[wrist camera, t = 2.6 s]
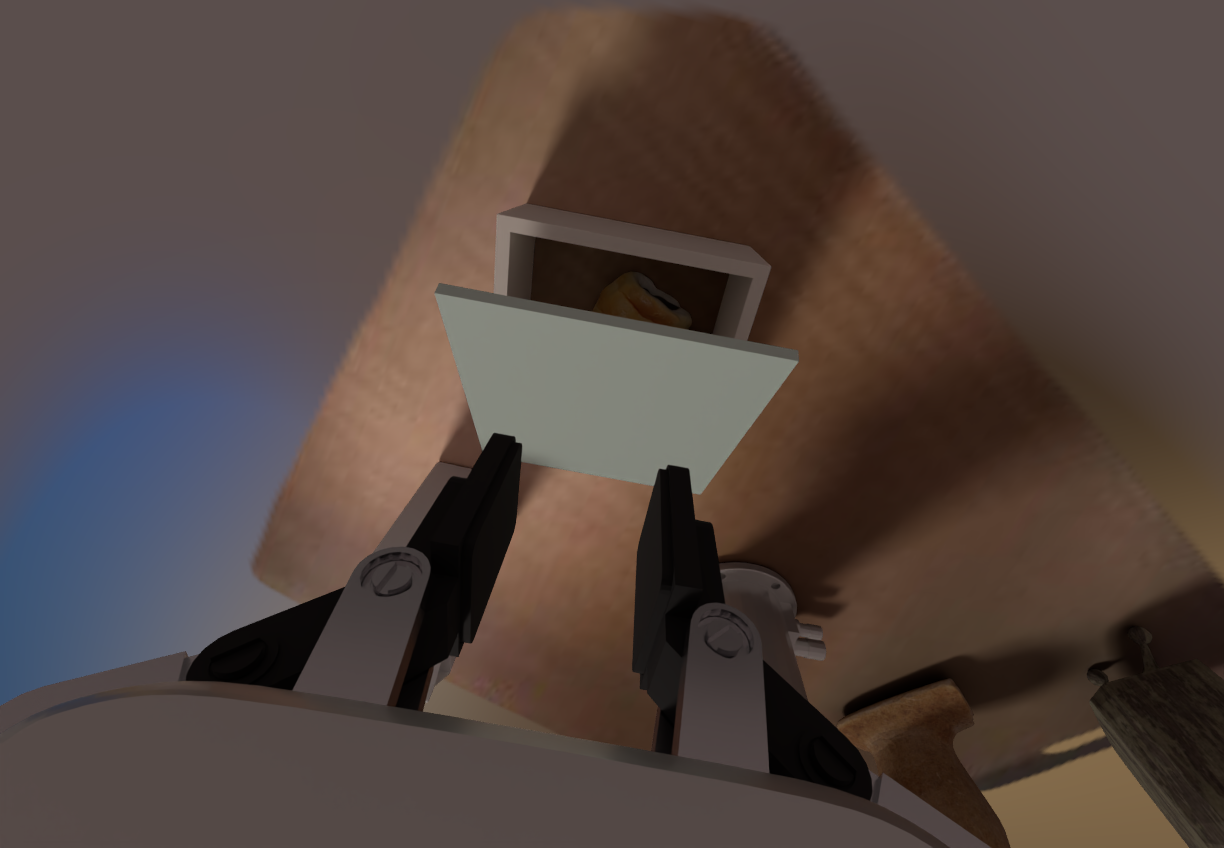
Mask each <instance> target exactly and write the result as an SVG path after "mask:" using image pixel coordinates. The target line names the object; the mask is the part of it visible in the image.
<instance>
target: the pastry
mask: <svg viewBox="0 0 1224 848" xmlns="http://www.w3.org/2000/svg"><path fill="white" fill-rule="evenodd" d="M591 312H596V313H601V314H606V315H612V316H617V317H622V318H628V319H633V320H638V321H644V322H649V323H654V324H660V325H665V326H670V327H676V328H681V329H688V328H689V327H690V326H691V323H692V319H691V315H690V313H689V312H687V311H686V310H684V309H682V308H680V304H679V303H678V302H677V301H676V300H675V299H674V298H673V297H672V296H670V295H667V294H666V293H664V292H663V291H661V290H658V289H656V287H655V286H654V283H653V282H652V281H651V280H650V279H649V278H648V277H646V276H644V275H643V274H642V273H639V272H633V271H632V272H627V273H625V274H622V275H621V276H620V277H619V278H617V279H616V280H615V281H614V282H613V283H611V284H609V285H608V286H606V287H605V288H604V289H603V290H602V292H601V294H600V296H599V299H598V301H597V303H596V304H595V306H594V308H593V310H592V311H591Z"/></svg>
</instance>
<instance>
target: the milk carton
mask: <svg viewBox="0 0 1224 848" xmlns="http://www.w3.org/2000/svg"><path fill="white" fill-rule="evenodd" d="M471 470H472V469H470V468H465V467H461V466H456V465H452V464H447V463H442V462H438V463H436V465H435V466H434V468H433V469H432V470H431V472H430V473H429V475H428V476H427V477H426V479H425V480H424V482H423V483H422V484H421V486H420V487H419V489H418V490H417V491H416V493H415V494H414V496H413V497H412V499H411V500H410V501H409V503H408V504H407V506H406V507H405V508H404V510H403V511H402V513H401V514H400V515H399V517H398V518H397V520H396V521H395V522H394V524H393V525H392V527H391V528H390V529H389V531H388V532H387V534H386V535H385V537H384V538H383V539H382V541H381V542H380V544H379V545H378V546H377V548H376V549H375V551H374V552H373V553H375V552H377V551H379V550H382V549H386V548H390V547H406V546H407V544H408V543H409V541H410V539H411V538H412V536H413V535H414V533H415V532H416V530H417V528H418V527H419V525H420V524H421V522H422V521H423V519H424V517H425V516H426V514H427V513H428V511H429V510H430V508H431V506H432V505H433V503H434V502H435V500H436V499H437V497H438V495H439V494H440V492H441V491H442V489H443V488H444V486H445V484H446V483H447V481H448V480H449V479H450V478H451V477H452V476H457V477H462V478H467V477H468V475H469V474H470V472H471ZM373 553H372V554H373ZM455 658H456V657H455V656H449V657H448V659H446V660H444V661H442V662H440V663H438V664H437V665H435V666H434V671H433V674H432V678H431V682H430V686H429V690H428V693H427V697H426V701H425V703H427V702H428V701H429V699H430V696H431V694H432V692H433V689H434V687H435V685H437V684H438V683H439V682H440V681H441V680H443V679H444V678H445V677H446V676H447V675H448V674H449V673H450V671H451V668H452V666H453V663H454V661H455Z"/></svg>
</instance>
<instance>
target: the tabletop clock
mask: <svg viewBox="0 0 1224 848" xmlns="http://www.w3.org/2000/svg"><path fill="white" fill-rule="evenodd" d="M1128 636H1129V638H1131V639H1132V640H1133V641H1134V642H1136V643H1138V644H1139V645H1140V649H1141V654H1142V658H1143V662H1144V669H1143V673H1141V674H1137V675H1133V676H1130V677H1126V678H1122V679H1118V680H1115V681H1111V682H1108V681H1109V680H1108V677H1107V675H1106V674H1105V673H1103V672H1102V671H1101V670H1098V669H1091V670H1089V671H1088V672H1087V678H1088V680H1090V681H1091V682H1092V683H1093V684H1095V685H1098V686H1101V687H1100V688H1099V689H1098V691H1097V692H1096V693H1095V694H1094V696H1093V697H1092V698H1091V699H1090V701H1089V702H1090V705H1091V707H1092V709H1093V711H1094V713H1095V716H1096V718H1097V720H1098V722H1099V723H1100V725H1101V727H1102V729H1103V731H1104V733H1105V735H1106V736H1107V738H1108V740H1109V742H1110V743H1111V745H1112V746H1113V748H1114V750H1115V751H1116V753H1117V754H1118V755H1119V757H1120V758H1121V759H1122V761H1123V762H1124V763H1125V765H1126V766H1127V767H1128V769H1129V770H1130V771H1131V772H1132V774H1133V775H1134V777H1135V778H1136V779H1137V781H1138V782H1139V783H1140V785H1141V786H1142V787H1143V788H1144V790H1145V791H1146V792H1147V794H1148V795H1149V796H1150V797H1151V799H1152V800H1153V801H1154V803H1155V804H1156V805H1157V807H1158V808H1159V809H1160V811H1161V812H1162V813H1163V814H1164V816H1165V817H1166V818H1167V820H1168V821H1169V822H1170V823H1171V825H1172V826H1173V827H1174V828H1175V830H1176V831H1177V832H1178V834H1179V835H1180V836H1181V837H1182V839H1183V840H1184V841H1185V843H1186V844H1187V845H1188V847H1189V848H1224V680H1223V679H1222V678H1221V677H1219V676H1218V675H1217V674H1216V673H1215V672H1213V671H1212V670H1211V669H1210V668H1208V667H1207V666H1206V665H1204V664H1203V663H1202V662H1200V661H1199V660H1198V659H1194V660H1190V661H1186V662H1183V663H1179V664H1175V665H1171V666H1168V667H1164V668H1159V667H1158V665H1157V664H1156V662H1155V660H1154V658H1153V656H1152V654H1151V651H1150V649H1149V647H1148V645H1147V644H1149V643H1150V642H1151V640H1152V635H1151V633H1150V632H1148V631H1147V630H1146V629H1145V628H1142V627H1135V626H1134V627H1131V628H1130V629H1129V631H1128Z"/></svg>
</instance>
